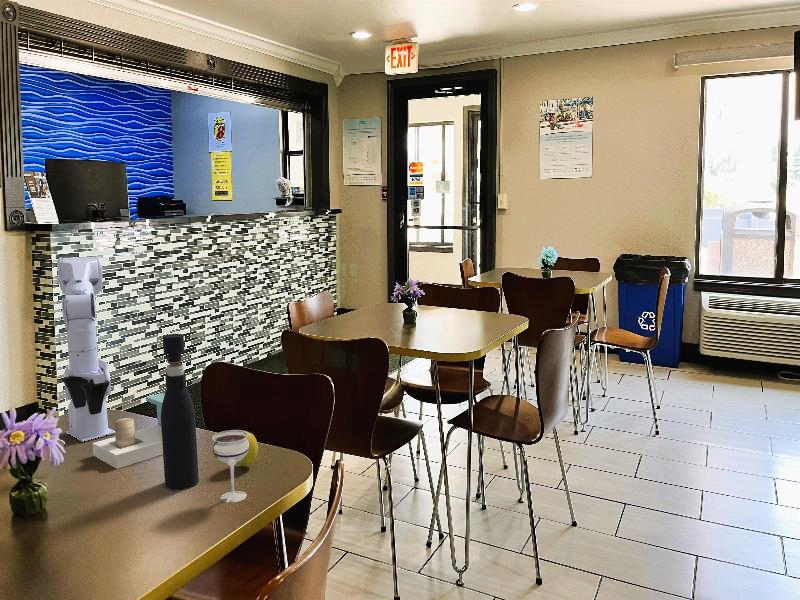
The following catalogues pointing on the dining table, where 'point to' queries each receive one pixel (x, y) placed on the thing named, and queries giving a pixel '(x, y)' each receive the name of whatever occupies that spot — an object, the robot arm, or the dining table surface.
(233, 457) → the wineglass
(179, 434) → the wine bottle
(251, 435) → the lemon
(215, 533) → the dining table surface
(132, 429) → the peg
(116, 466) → the socket block
